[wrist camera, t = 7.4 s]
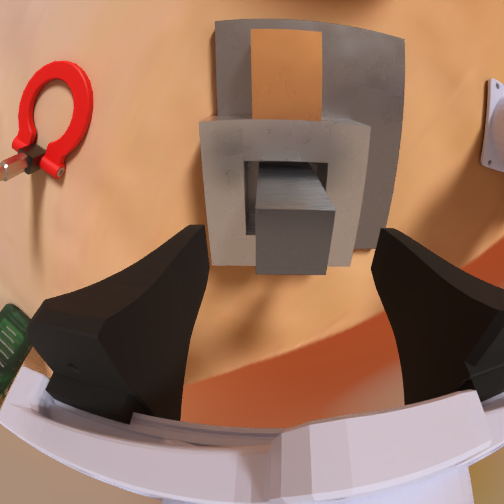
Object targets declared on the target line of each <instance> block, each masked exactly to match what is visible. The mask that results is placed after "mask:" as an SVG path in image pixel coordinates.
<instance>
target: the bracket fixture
mask: <svg viewBox="0 0 504 504" xmlns="http://www.w3.org/2000/svg"><path fill="white" fill-rule="evenodd" d="M215 52H216V85H217V110H218V115H212V116H210V117H208V118H206V119H204V120H202V121H200V122H199V132H200V147H201V160H202V172H203V183H204V194H205V205H206V215H207V224H208V234H209V243H210V251H211V260H212V265H216V266H256V235H255V206H256V194H257V182H258V170H259V161H297V162H309V164H310V165H311V167H312V169H313V171H314V172H315V174H316V176H317V178H318V179H319V181H320V183H321V185H322V186H323V188H324V190H325V192H326V194H327V196H328V197H329V199H330V201H331V203H332V205H333V207H334V209H335V210H336V212H335V219H334V226H333V233H332V240H331V246H330V253H329V259H328V265H327V266H350V264H351V259H352V255H353V250H354V249H376V246H377V242H378V238H379V233H380V229H381V228H386V224H387V219H388V215H389V210H390V205H391V200H392V194H393V189H394V183H395V177H396V170H397V164H398V157H399V149H400V140H401V131H402V120H403V106H404V86H405V43H404V39H402V38H398V37H395V36H391V35H387V34H384V33H380V32H375V31H371V30H366V29H362V28H356V27H351V26H345V25H339V24H332V23H324V22H316V21H305V20H290V19H239V20H224V21H215Z"/></svg>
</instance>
